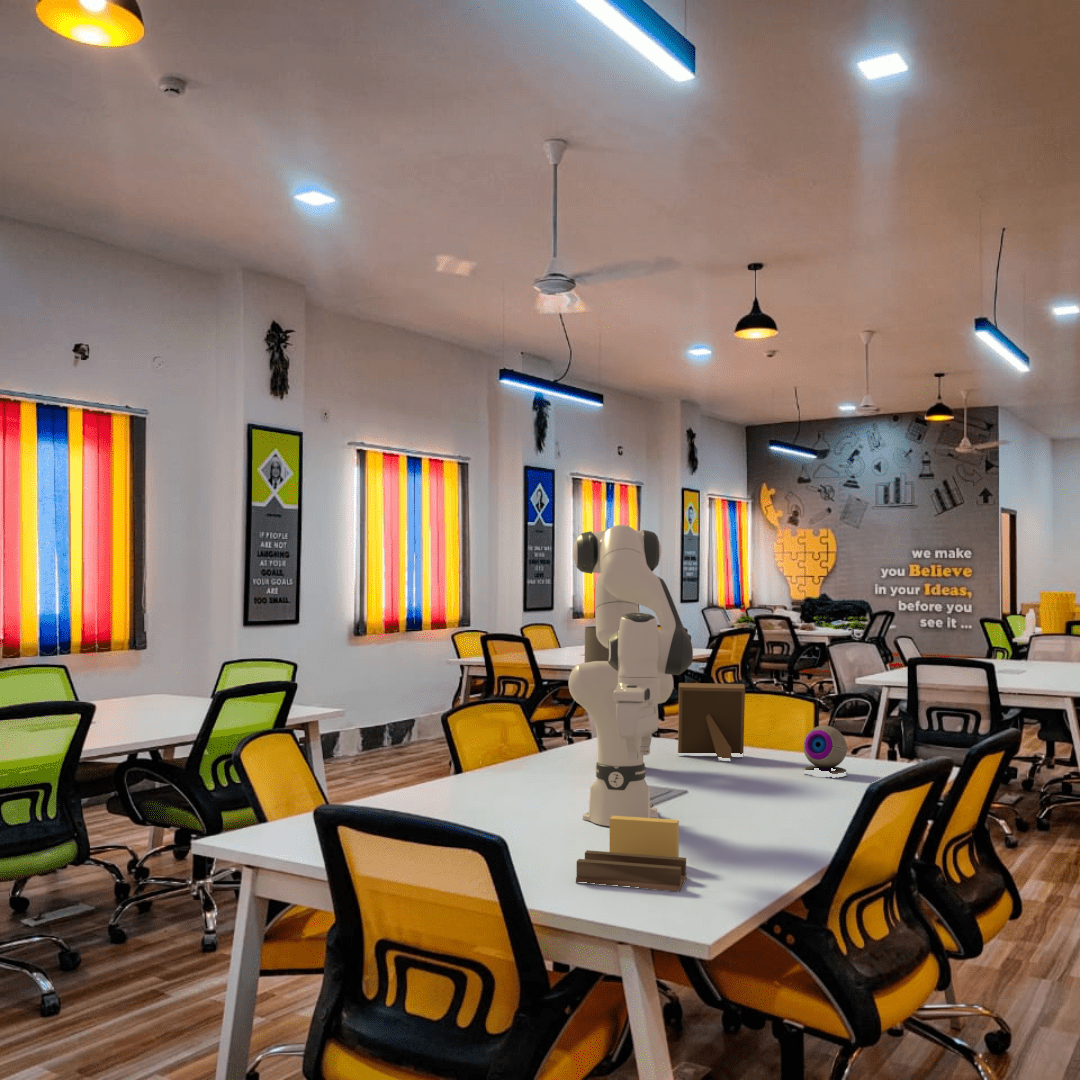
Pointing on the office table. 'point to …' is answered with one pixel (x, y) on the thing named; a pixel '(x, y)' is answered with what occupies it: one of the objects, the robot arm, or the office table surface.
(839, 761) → the webcam
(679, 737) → the photo frame
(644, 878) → the sliding track
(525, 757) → the office table surface
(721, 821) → the office table surface
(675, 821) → the door panel
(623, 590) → the robot arm
